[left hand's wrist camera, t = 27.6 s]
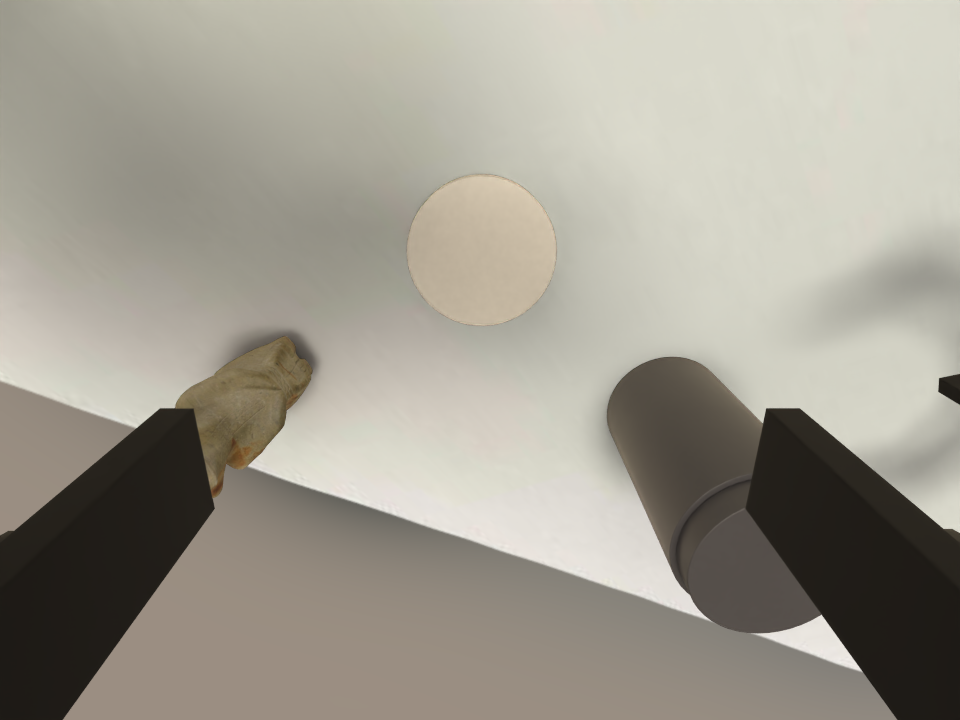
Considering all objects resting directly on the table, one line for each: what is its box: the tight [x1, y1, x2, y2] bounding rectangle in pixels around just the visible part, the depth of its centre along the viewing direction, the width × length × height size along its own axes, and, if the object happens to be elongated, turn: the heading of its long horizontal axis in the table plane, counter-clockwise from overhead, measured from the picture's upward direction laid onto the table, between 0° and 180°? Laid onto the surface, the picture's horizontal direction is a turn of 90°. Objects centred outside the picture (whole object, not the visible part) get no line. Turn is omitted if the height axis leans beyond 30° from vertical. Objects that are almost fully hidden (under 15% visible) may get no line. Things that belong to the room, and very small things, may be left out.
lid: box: [407, 174, 557, 326], centre depth 38 cm, size 10×10×2 cm
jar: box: [607, 357, 821, 633], centre depth 36 cm, size 9×9×17 cm
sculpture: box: [175, 336, 312, 498], centre depth 35 cm, size 6×7×15 cm
